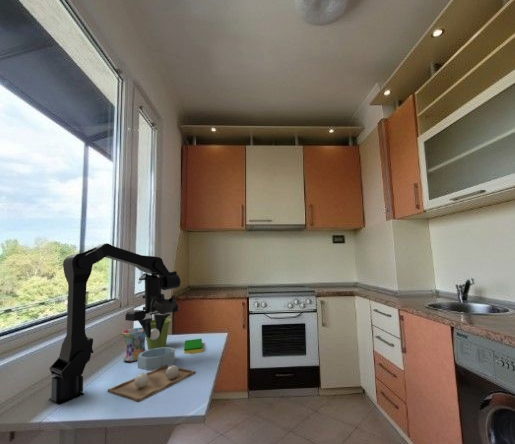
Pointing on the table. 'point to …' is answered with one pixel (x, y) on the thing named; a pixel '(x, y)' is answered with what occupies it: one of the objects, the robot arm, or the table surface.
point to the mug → (134, 343)
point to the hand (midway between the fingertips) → (154, 336)
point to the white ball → (154, 334)
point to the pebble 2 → (172, 372)
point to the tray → (149, 384)
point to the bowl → (156, 358)
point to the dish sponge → (193, 346)
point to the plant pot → (162, 337)
